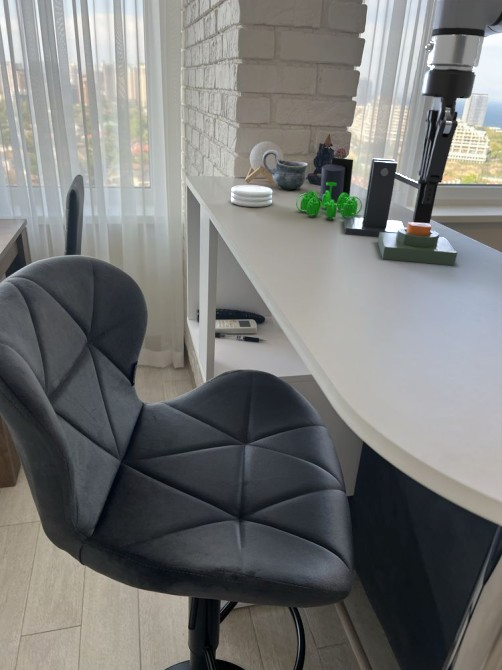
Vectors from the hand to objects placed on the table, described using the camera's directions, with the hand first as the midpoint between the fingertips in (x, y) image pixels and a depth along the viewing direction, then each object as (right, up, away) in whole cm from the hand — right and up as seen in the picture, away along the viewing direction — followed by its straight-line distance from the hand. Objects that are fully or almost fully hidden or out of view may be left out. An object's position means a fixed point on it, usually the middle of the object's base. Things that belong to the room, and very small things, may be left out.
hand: (421, 221), depth 88 cm
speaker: (-8, +15, +42) cm, 46 cm away
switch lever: (0, +10, +12) cm, 16 cm away
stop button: (0, -2, +1) cm, 2 cm away
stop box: (0, -5, +3) cm, 6 cm away
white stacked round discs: (-30, +12, +35) cm, 47 cm away
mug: (-21, +21, +54) cm, 62 cm away
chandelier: (-12, +8, +28) cm, 32 cm away
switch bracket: (-4, +2, +17) cm, 17 cm away
